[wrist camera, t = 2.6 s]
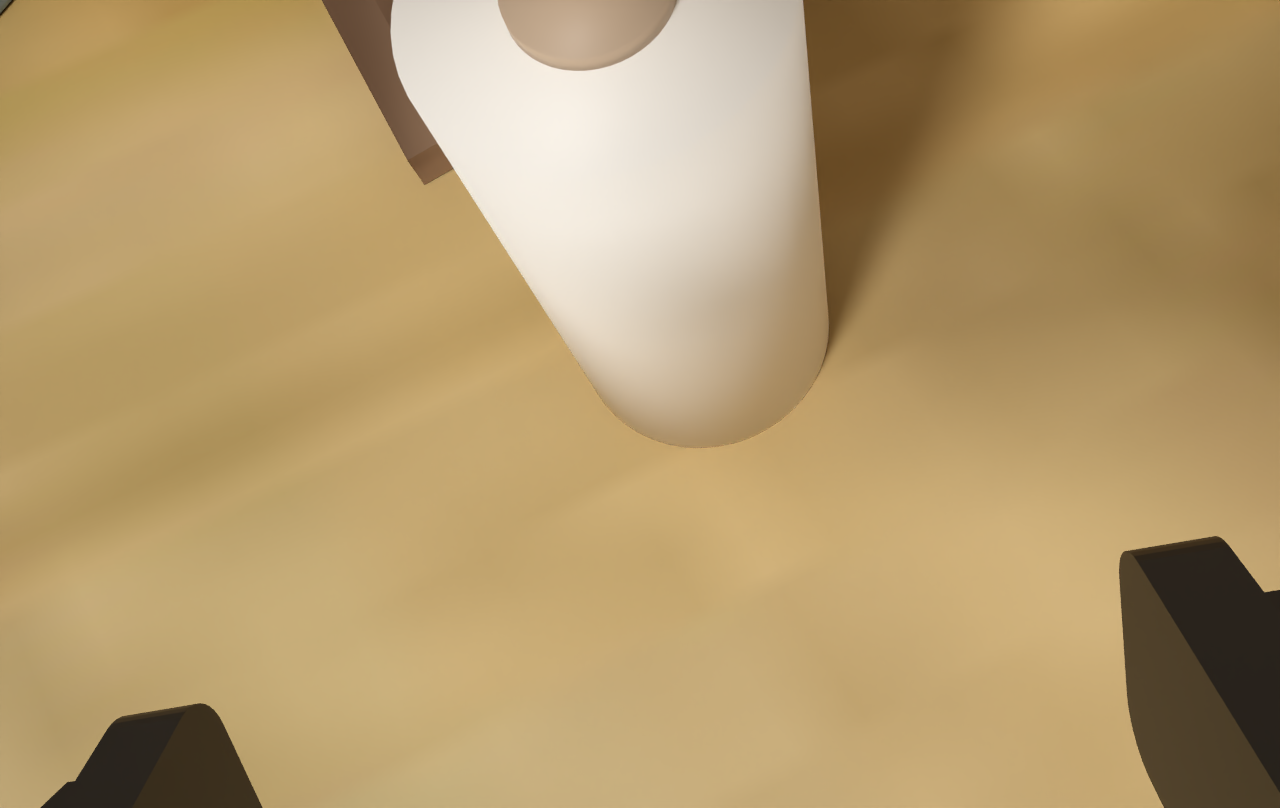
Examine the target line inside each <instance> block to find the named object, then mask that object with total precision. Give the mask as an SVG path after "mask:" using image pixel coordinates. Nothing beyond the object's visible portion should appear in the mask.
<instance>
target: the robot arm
mask: <svg viewBox="0 0 1280 808" xmlns="http://www.w3.org/2000/svg"><path fill="white" fill-rule="evenodd" d="M1119 579H1120V594H1121V609H1122V624H1123V640H1124V655H1125V670H1126V685H1127V698H1128V706H1129V713H1130V718H1131V723H1132V727H1133V732H1134V735H1135V739H1136V743H1137V746H1138V749H1139V752H1140V755H1141V758H1142V761H1143V764H1144V766H1145V769H1146V771H1147V773H1148V776H1149V778H1150V780H1151V782H1152V784H1153V786H1154V788H1155V790H1156V792H1157V794H1158V796H1159V798H1160V800H1161V802H1162V804H1163V806H1164V808H1280V590H1277V591H1270V592H1263V590H1262V589H1261V588H1260V586H1259V585H1258V584H1257V582H1256V581H1255V580H1254V578H1253V577H1252V576H1251V574H1250V573H1249V572H1248V570H1247V569H1246V568H1245V566H1244V565H1243V564H1242V562H1241V561H1240V560H1239V558H1238V557H1237V556H1236V554H1235V553H1234V552H1233V550H1232V549H1231V548H1230V546H1229V545H1228V544H1227V543H1226V542H1225V541H1224V540H1223V539H1222V538H1220V537H1217V536H1214V537H1208V538H1202V539H1196V540H1190V541H1184V542H1178V543H1172V544H1166V545H1160V546H1154V547H1148V548H1142V549H1136V550H1130V551H1124V552H1123V553H1122V555H1121V558H1120V565H1119ZM41 808H262V806H261V804H260V802H259V799H258V797H257V795H256V793H255V791H254V789H253V787H252V785H251V782H250V780H249V778H248V776H247V774H246V772H245V770H244V767H243V765H242V763H241V761H240V759H239V757H238V755H237V753H236V750H235V748H234V746H233V744H232V742H231V740H230V738H229V735H228V733H227V731H226V729H225V727H224V725H223V723H222V721H221V719H220V717H219V716H218V715H217V713H216V712H215V711H214V710H213V709H212V708H211V707H210V706H208V705H206V704H201V703H199V704H193V705H187V706H181V707H175V708H170V709H164V710H158V711H152V712H146V713H140V714H134V715H128V716H122V717H120V718H118V719H116V720H115V721H114V722H113V723H112V724H111V725H110V727H109V728H108V729H107V731H106V732H105V734H104V736H103V737H102V739H101V740H100V742H99V744H98V745H97V747H96V748H95V750H94V752H93V753H92V755H91V756H90V758H89V760H88V761H87V763H86V764H85V766H84V768H83V769H82V771H81V773H80V774H79V776H78V777H77V779H76V781H73V782H67V783H66V784H65V785H64V786H63V787H62V788H61V789H60V790H59V791H58V792H57V793H55V794H54V795H53V796H52V797H51V798H50V799H49V800H48V801H47V802H46V803H45V804H44V805H43V806H42V807H41Z"/></svg>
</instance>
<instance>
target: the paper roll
mask: <svg viewBox="0 0 1280 808" xmlns="http://www.w3.org/2000/svg"><path fill="white" fill-rule="evenodd" d="M391 42H392V51H393V57H394V61H395V64H396V68H397V72H398V76H399V78H400V80H401V83H402V85H403V87H404V89H405V91H406V94H407V96H408V98H409V99H410V101H411V102H412V104H413V106H414V107H415V109H416V110H417V112H418V113H419V115H420V116H421V118H422V120H423V121H424V123H425V124H426V126H427V127H428V129H429V131H430V132H431V134H432V135H433V137H434V138H435V140H436V142H437V143H438V145H439V146H440V148H441V149H442V151H443V152H444V154H445V156H446V157H447V159H448V160H449V162H450V163H451V165H452V167H453V168H454V170H455V171H456V173H457V174H458V176H459V177H460V179H461V181H462V182H463V184H464V185H465V187H466V188H467V190H468V192H469V193H470V195H471V196H472V198H473V199H474V201H475V203H476V204H477V206H478V207H479V209H480V210H481V212H482V213H483V215H484V217H485V218H486V220H487V221H488V223H489V224H490V226H491V228H492V229H493V231H494V232H495V234H496V235H497V237H498V238H499V240H500V242H501V243H502V245H503V246H504V248H505V249H506V251H507V253H508V254H509V256H510V257H511V259H512V260H513V262H514V264H515V265H516V267H517V268H518V270H519V271H520V273H521V274H522V276H523V278H524V279H525V281H526V282H527V284H528V285H529V287H530V289H531V290H532V292H533V293H534V295H535V296H536V298H537V299H538V301H539V303H540V304H541V306H542V307H543V309H544V310H545V312H546V314H547V315H548V317H549V318H550V320H551V321H552V323H553V325H554V326H555V328H556V329H557V331H558V332H559V334H560V335H561V337H562V339H563V340H564V342H565V343H566V345H567V346H568V348H569V350H570V351H571V353H572V354H573V356H574V357H575V359H576V361H577V362H578V364H579V365H580V367H581V368H582V370H583V371H584V373H585V375H586V376H587V378H588V379H589V381H590V382H591V384H592V386H593V387H594V389H595V390H596V392H597V393H598V395H599V396H600V398H601V399H602V401H603V402H604V404H605V405H606V406H607V407H608V408H609V409H610V410H611V412H612V413H613V414H614V415H615V416H616V417H618V418H619V419H620V420H621V421H622V422H623V423H625V424H626V425H627V426H629V427H630V428H632V429H634V430H635V431H637V432H638V433H640V434H642V435H644V436H647V437H649V438H651V439H653V440H656V441H659V442H662V443H666V444H669V445H675V446H680V447H690V448H707V447H719V446H723V445H728V444H733V443H737V442H739V441H742V440H745V439H748V438H751V437H753V436H755V435H757V434H759V433H761V432H763V431H765V430H767V429H768V428H770V427H771V426H773V425H774V424H776V423H777V422H779V421H780V420H781V419H783V418H784V417H785V416H786V415H787V414H789V413H790V412H791V411H792V410H793V409H794V408H795V407H796V406H797V405H798V403H799V402H800V401H801V400H802V399H803V398H804V396H805V395H806V394H807V392H808V391H809V389H810V388H811V386H812V385H813V383H814V381H815V379H816V377H817V375H818V373H819V371H820V369H821V366H822V363H823V360H824V357H825V354H826V349H827V344H828V336H829V317H828V304H827V292H826V280H825V267H824V255H823V242H822V230H821V218H820V205H819V193H818V181H817V168H816V156H815V143H814V131H813V119H812V106H811V94H810V82H809V69H808V57H807V44H806V32H805V20H804V7H803V0H393V5H392V10H391Z"/></svg>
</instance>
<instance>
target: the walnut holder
mask: <svg viewBox="0 0 1280 808" xmlns="http://www.w3.org/2000/svg"><path fill="white" fill-rule="evenodd" d="M322 1H323V3H324V5H325V7H326V9H327V11H328V13H329V14H330V16H331V18H332V20H333V22H334V24H335V26H336V28H337V29H338V31H339V33H340V35H341V37H342V39H343V41H344V43H345V44H346V46H347V48H348V50H349V52H350V54H351V56H352V57H353V59H354V61H355V63H356V65H357V67H358V69H359V71H360V72H361V74H362V76H363V78H364V80H365V82H366V84H367V85H368V87H369V89H370V91H371V93H372V95H373V97H374V99H375V100H376V102H377V104H378V106H379V108H380V110H381V112H382V114H383V115H384V117H385V119H386V121H387V123H388V125H389V127H390V128H391V130H392V132H393V134H394V136H395V138H396V140H397V142H398V143H399V145H400V147H401V149H402V151H403V153H404V155H405V157H406V158H407V160H408V162H409V163H410V165H411V166H412V167H413V169H414V170H415V172H416V173H417V175H418V176H419V177H420V179H421V180H422V182H423V183H424V184H427V183H429V182H430V181H432V180H434V179H436V178H437V177H439V176H441V175H443V174H444V173H446V172H448V171H450V170H452V169H453V167H452V165H451V163H450V162H449V160H448V159H447V157H446V156H445V154H444V152H443V151H442V149H441V148H440V146H439V145H438V143H437V142H436V140H435V138H434V137H433V135H432V134H431V132H430V131H429V129H428V127H427V126H426V124H425V123H424V121H423V120H422V118H421V116H420V115H419V113H418V112H417V110H416V109H415V107H414V106H413V104H412V102H411V101H410V99H409V98H408V96H407V94H406V91H405V89H404V87H403V85H402V83H401V80H400V78H399V76H398V72H397V68H396V64H395V61H394V57H393V51H392V42H391V10H392V5H393V0H322Z"/></svg>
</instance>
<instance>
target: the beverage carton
mask: <svg viewBox="0 0 1280 808" xmlns="http://www.w3.org/2000/svg"><path fill="white" fill-rule="evenodd" d="M11 1H12V0H0V13H1V12H2V11H3V10H4V9H5V8H6V6H7V5H8V4H9V3H10V2H11Z"/></svg>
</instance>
